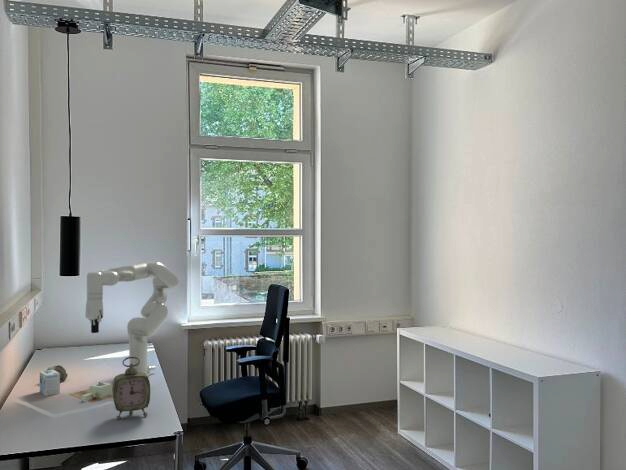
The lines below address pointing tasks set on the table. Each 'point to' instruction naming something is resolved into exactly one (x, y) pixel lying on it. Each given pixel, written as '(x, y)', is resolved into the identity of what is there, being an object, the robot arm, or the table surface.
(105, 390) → the hollow frame with stem
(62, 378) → the carved stone stamp
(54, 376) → the light bulb box
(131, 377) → the tabletop clock
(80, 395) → the board
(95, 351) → the table surface
